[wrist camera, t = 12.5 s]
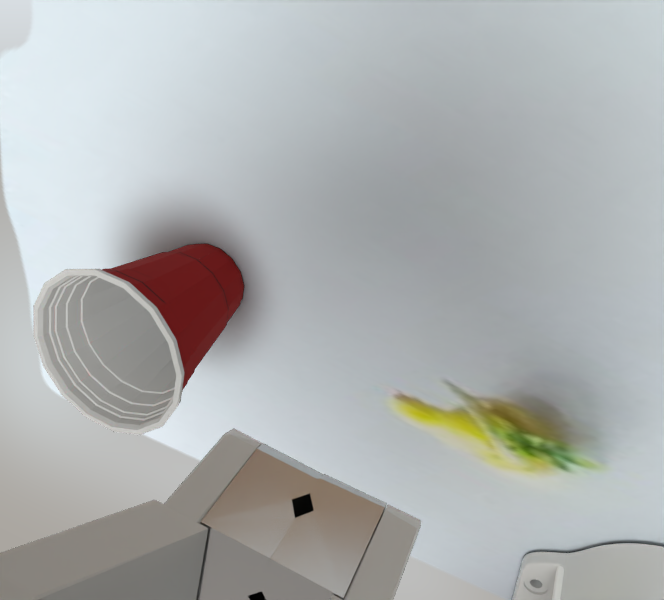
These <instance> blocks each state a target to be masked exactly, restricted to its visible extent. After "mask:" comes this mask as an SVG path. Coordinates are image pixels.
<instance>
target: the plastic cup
mask: <svg viewBox="0 0 664 600" xmlns="http://www.w3.org/2000/svg"><path fill="white" fill-rule="evenodd" d="M243 291H244V284H243V280H242V276H241V272H240V270H239V269H238V267H237V266H236V264H235V262H234V261H233V259H232V258H231V257H229V256H228V255H227V254H226V253H225V252H224V251H222V250H221V249H219V248H217V247H214V246H212V245H209V244H193V245H186V246H183V247H181V248H178V249H175V250H172V251H169V252H162V253H159V254H156V255H153V256H149V257H146V258H143V259H140V260H137V261H133V262H130V263H127V264H124V265H121V266H118V267H114V268H111V269H103V270H100V269H66V270H64V271H62V272H61V273H59V274H58V275H56V276H55V277H53V278H51V279H50V280H48V281H47V282H45V283H44V285H43V287H42V289H41V292H40V294H39V296H38V298H37V300H36V302H35V304H34V339H35V342H36V345H37V348H38V351H39V354H40V357H41V360H42V363H43V366H44V368H45V370H46V371H47V373H48V374H49V376H50V377H51V379H52V380H53V382H54V384H55V385H56V387H57V388H58V390H59V391H60V393H61V394H62V396H64V397H65V398H66V399H67V400H68V401H69V402H70V403H71V404H72V405H73V406H74V407H75V408H76V409H78V410H79V411H80V412H81V413H82V414H83V415H84V416H85V417H86V418H88V419H90V420H92V421H94V422H96V423H98V424H100V425H102V426H103V427H105V428H107V429H109V430H111V431H113V432H121V433H129V434H137V435H141V434H144V433H146V432H149V431H152V430H154V429H157V428H160V427H162V426H163V425H164V424H165V423H166V421H167V420H168V419H169V417H170V416H171V415H172V413H173V412H174V411H175V409H176V408H177V407H178V405H179V403H180V401H181V395H182V391H183V388H184V387H185V386H186V384H187V382H188V380H189V379H190V377H191V376H192V374H193V373H194V370H195V368H196V367H197V365H198V364H199V363H200V361H201V360H202V359H203V357H204V356H205V354H206V353H207V352H208V350H209V349H210V348H211V346H212V345H213V343H214V342H215V341H216V339H217V338H218V337H219V335H220V334H221V332H222V331H223V329H224V328H225V327H226V325H227V322H228V321H229V319H230V318H231V316H232V315H233V314H234V312H235V311H236V309H237V308H238V307H239V305H240V302H241V300H242V298H243Z"/></svg>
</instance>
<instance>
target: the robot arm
mask: <svg viewBox="0 0 664 600" xmlns="http://www.w3.org/2000/svg"><path fill="white" fill-rule="evenodd" d="M386 505H387V503H385V502H383V501H381V500H379V499H377V498H374V497H372V496H370V495H368V494H366V493H364V492H362V491H360V490H358V489H355V488H353V487H351V486H349V485H347V484H345V483H343V482H341V481H339V480H336V479H334V478H332V477H330V476H328V475H326V474H322V473H320V472H318V471H316V470H314V469H312V468H310V467H308V466H306V465H304V464H302V463H301V462H299V461H297V460H295V459H293V458H291V457H289V456H287V455H285V454H283V453H281V452H279V451H278V450H276V449H274V448H272V447H270V446H268V445H266V444H264V443H261V442H259V441H257V440H255V439H253V438H252V437H250V436H248V435H246V434H244V433H242V432H240V431H238V430H236V429H232V430H230V431H229V432H227V433H225V434H224V435H223V436H222V437H221V439H220V440H219V441H218V442H217V443H216V444H215V445H214V447H213V448H212V449H211V450H210V451H209V452H208V453H207V455H206V456H205V457H204V458H203V459H202V460H201V462H200V463H199V464H198V465H197V466H196V467H195V469H194V470H193V471H192V472H191V473H190V474H189V475H188V477H187V478H186V479H185V480H184V481H183V482H182V483H181V485H180V486H179V487H178V488H177V489H176V490H175V492H174V493H173V494H172V495H171V496H170V497H169V498H168V500H167V501H166V502H165V503H164V504H162V503H161V502H159V501H157V500H152V501H149V502H146V503H143V504H140V505H137V506H134V507H131V508H128V509H126V510H123V511H120V512H117V513H114V514H111V515H108V516H105V517H102V518H100V519H97V520H94V521H91V522H88V523H85V524H82V525H79V526H76V527H73V528H71V529H68V530H65V531H62V532H59V533H56V534H53V535H50V536H48V537H44V538H41V539H39V540H36V541H33V542H30V543H27V544H24V545H21V546H18V547H15V548H13V549H10V550H7V551H4V552H1V553H0V600H393V599H394V596H395V594H396V591H397V588H398V586H399V583H400V580H401V578H402V575H403V572H404V570H405V567H406V564H407V562H408V559H409V556H410V553H411V551H412V548H413V545H414V543H415V540H416V537H417V535H418V532H419V529H420V526H421V520H419V519H417V518H415V517H413V516H411V515H409V514H407V513H405V512H403V511H401V510H399V509H396V508H394V507H392V506H390V505H387V507H386ZM385 508H386V509H385ZM512 600H664V547H662V546H656V545H648V544H637V543H621V544H609V545H602V546H597V547H593V548H589V549H586V550H582V551H578V552H573V553H557V552H532V553H529V554H527V555H525V557H524V558H523V560H522V564H521V568H520V572H519V575H518V579H517V583H516V587H515V590H514V594H513V598H512Z"/></svg>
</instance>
